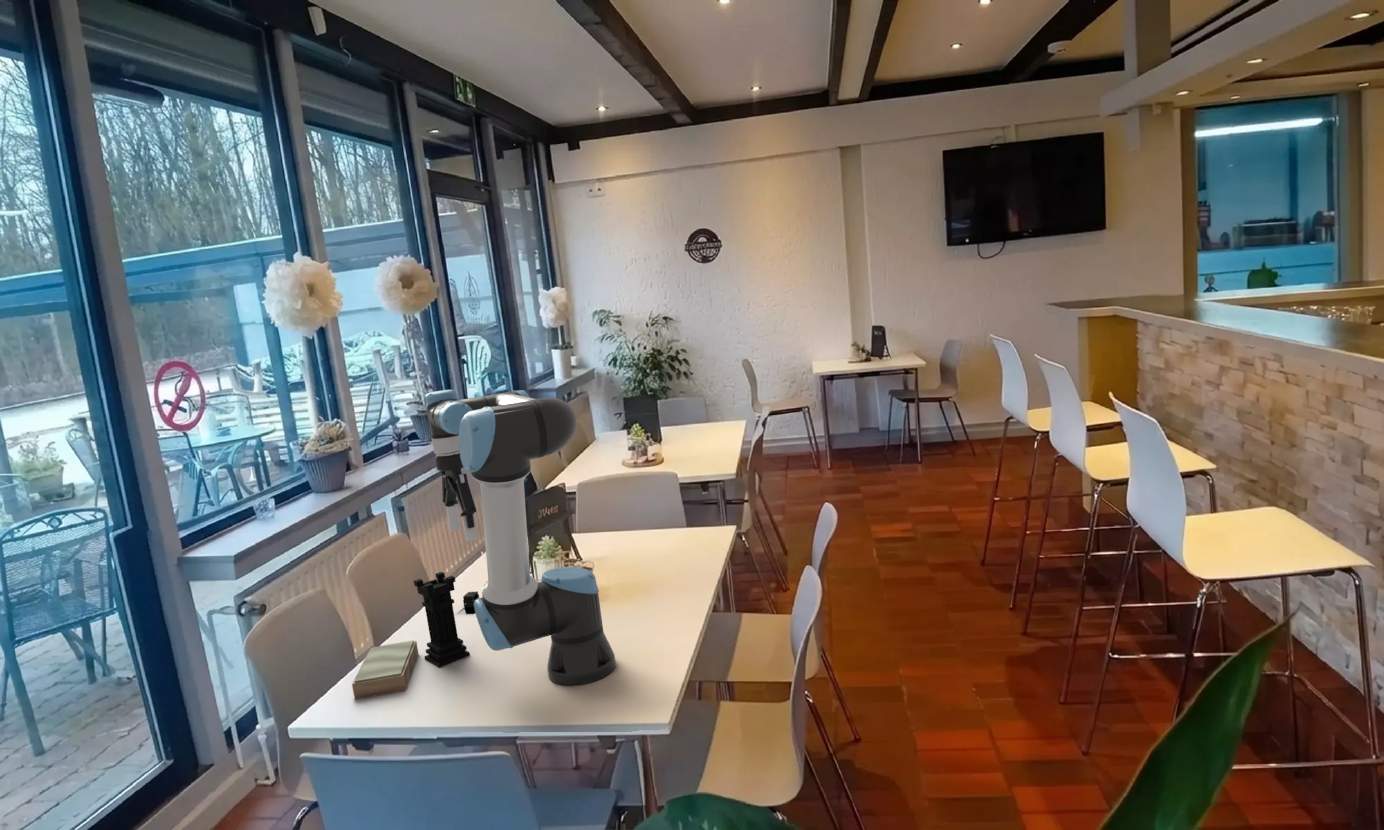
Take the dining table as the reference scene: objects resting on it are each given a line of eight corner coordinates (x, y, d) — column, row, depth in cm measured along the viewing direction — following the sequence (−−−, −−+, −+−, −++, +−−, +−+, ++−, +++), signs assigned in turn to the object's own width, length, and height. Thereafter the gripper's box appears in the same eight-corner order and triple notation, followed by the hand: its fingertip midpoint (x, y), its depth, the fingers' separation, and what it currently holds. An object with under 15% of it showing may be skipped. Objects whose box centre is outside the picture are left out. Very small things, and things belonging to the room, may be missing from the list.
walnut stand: (405, 690, 193) (402, 673, 192) (354, 699, 191) (351, 682, 190) (418, 654, 212) (416, 639, 212) (372, 662, 211) (369, 646, 210)
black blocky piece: (475, 618, 235) (472, 601, 234) (450, 619, 236) (448, 603, 235) (493, 600, 247) (490, 585, 246) (469, 601, 248) (467, 586, 247)
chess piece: (424, 659, 209) (411, 580, 206) (455, 647, 214) (442, 570, 211) (439, 667, 203) (425, 587, 200) (470, 655, 208) (457, 576, 205)
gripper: (480, 454, 204) (494, 540, 207) (450, 445, 225) (463, 523, 228) (449, 461, 200) (464, 548, 203) (421, 450, 221) (435, 530, 224)
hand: (463, 535), depth 215 cm, fingers open, 13 cm apart
